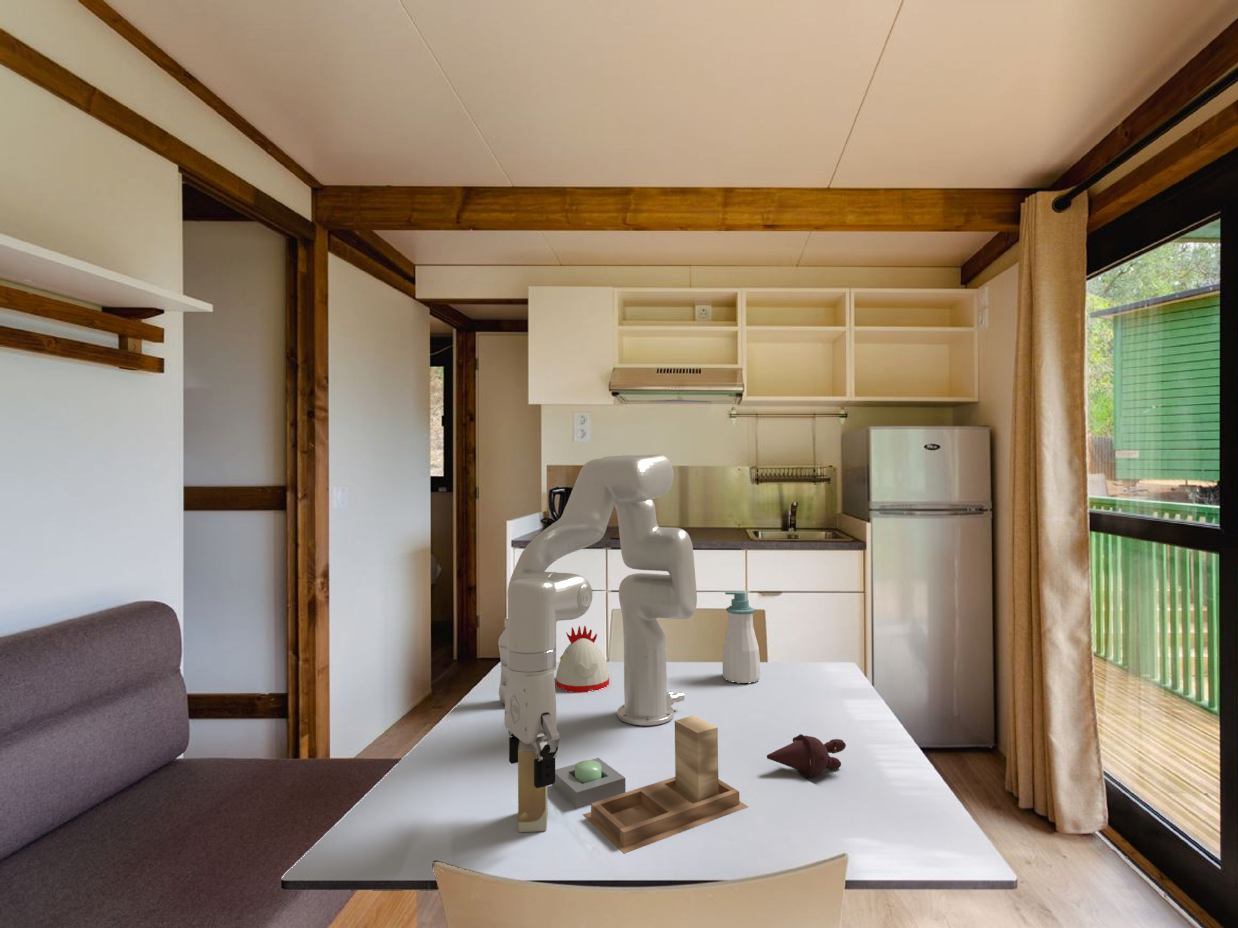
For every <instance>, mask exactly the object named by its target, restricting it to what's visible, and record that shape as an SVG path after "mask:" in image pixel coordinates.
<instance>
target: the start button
mask: <svg viewBox="0 0 1238 928" xmlns="http://www.w3.org/2000/svg"><path fill="white" fill-rule="evenodd" d="M575 764H576V765H575V778H576V779H577V780H578V781H579V782H580V783H581V784H584V783H587V782H591V781H594V780H597V779H601V764H600V763H599V762H597V761H593V760H592V759H590V760H588V759H587V760H582V761H579V762H576V763H575Z"/></svg>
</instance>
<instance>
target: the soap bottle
mask: <svg viewBox="0 0 1238 928" xmlns="http://www.w3.org/2000/svg"><path fill="white" fill-rule="evenodd" d="M724 594H725V595H733V598H732V599H731V602H730V603H731V605H729V606H728V607H726V609H725V610H726V612H727V628H726V632H725V638H724V642H723V646H722V647H723V648H722V677H723V678H724V679H725V680H726V679H727V680H729V681H728V682H730V681H734V682H738V683H737V684H740V683H748V684H750V683H749V682H754V681H756V682H758V681H759V680H760V677H761V660H760V659H761V658H760V649H759V645H758V644H759V643H758V639H757V637H756V632H755V629H754V621H753V618H754V617H753V616H754V615H753V613H754V611H755V608H754V607H751V606H750V605H749V603H750V601H749V599H747V598H746V597H747V596H746V591H725V592H724ZM727 680H726V681H727ZM757 680H758V681H757ZM754 683H755V682H754Z"/></svg>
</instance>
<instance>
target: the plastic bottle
mask: <svg viewBox="0 0 1238 928" xmlns="http://www.w3.org/2000/svg"><path fill="white" fill-rule="evenodd" d="M503 621H504V625H503V627H504V628H505V629H504V630H502V631H503V632H502V633H501V634H500V636H499V638H498V650H499V656H500V684H499V688H498V696H499V701H500V702H501V703H502V704H504V705H505V695H506V683H507V675H508V671H507V649H508V648H507V636H508V617H505V618H504V620H503Z"/></svg>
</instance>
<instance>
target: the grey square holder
mask: <svg viewBox="0 0 1238 928" xmlns="http://www.w3.org/2000/svg"><path fill="white" fill-rule="evenodd" d="M591 760H593V761H597V762H599V763H600V764H601V779H597V780H594V781H591V782H587V783H584V784H581V783H580V782H579V781H578V780H577V779H576V778H575V765H576V764H577V763H574V764H571V765H567V766H564V767H560V768H555V783H554V784H552V785H551V786H552V787H553V788H554V789H555V790H556V791H557V792H558V793H559V794H560V795H561V796H562V797H563V798H564V799H565V800H567V801H568V802H569V804H571V805H572V806H573V807H574V809H576V810H578V809H582V808H584V807H588V806H591V803H594V802H597V801H600V800H603V799H606V798H610V797H613V796H616V795H619V794H622V793H625V792H627V791H626V777H625V776H623V775H622V774H621V773H620V772H618V771H617V770H615V769H614V768H613V767H611V766H610V765H609V764H608V763H606V762H605V761H604V760H602V759H600V757H596V758H592V759H591Z"/></svg>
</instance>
